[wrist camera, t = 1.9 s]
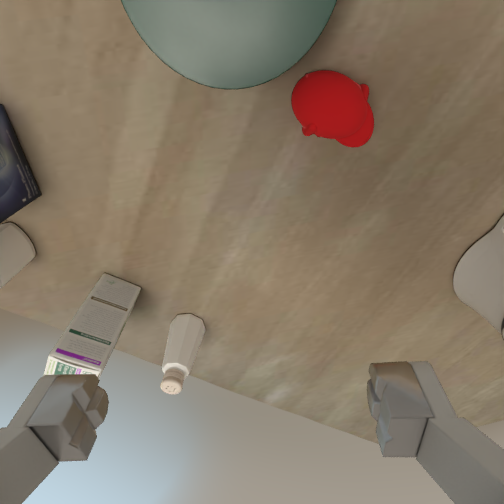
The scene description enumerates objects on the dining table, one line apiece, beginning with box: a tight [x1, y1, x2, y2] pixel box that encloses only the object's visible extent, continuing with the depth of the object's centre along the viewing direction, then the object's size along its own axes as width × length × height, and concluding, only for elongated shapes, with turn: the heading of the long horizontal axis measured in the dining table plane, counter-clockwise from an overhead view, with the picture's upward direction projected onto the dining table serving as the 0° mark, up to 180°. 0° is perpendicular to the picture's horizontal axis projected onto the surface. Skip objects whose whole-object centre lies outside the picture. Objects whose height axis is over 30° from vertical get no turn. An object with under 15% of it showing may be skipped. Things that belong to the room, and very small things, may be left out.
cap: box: [291, 70, 374, 147], centre depth 31 cm, size 8×6×6 cm
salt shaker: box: [160, 314, 206, 394], centre depth 47 cm, size 5×5×11 cm
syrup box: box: [43, 273, 141, 379], centre depth 42 cm, size 6×6×14 cm
